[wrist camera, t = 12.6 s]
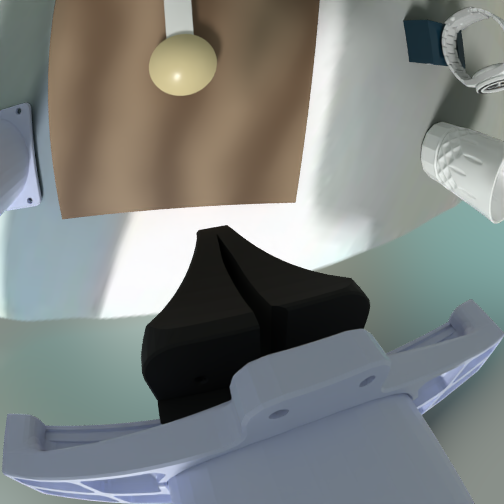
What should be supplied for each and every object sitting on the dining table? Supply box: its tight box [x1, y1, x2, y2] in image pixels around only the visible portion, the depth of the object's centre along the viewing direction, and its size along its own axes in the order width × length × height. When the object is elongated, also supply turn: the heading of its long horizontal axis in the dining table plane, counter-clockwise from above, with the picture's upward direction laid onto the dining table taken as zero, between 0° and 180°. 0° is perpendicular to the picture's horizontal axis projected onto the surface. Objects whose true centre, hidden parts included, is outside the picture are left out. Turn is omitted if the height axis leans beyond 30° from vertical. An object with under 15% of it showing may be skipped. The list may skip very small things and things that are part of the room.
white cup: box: [421, 122, 504, 224], centre depth 22 cm, size 8×8×10 cm
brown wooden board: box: [48, 0, 320, 219], centre depth 16 cm, size 18×20×2 cm
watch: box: [403, 7, 504, 94], centre depth 14 cm, size 6×8×11 cm
